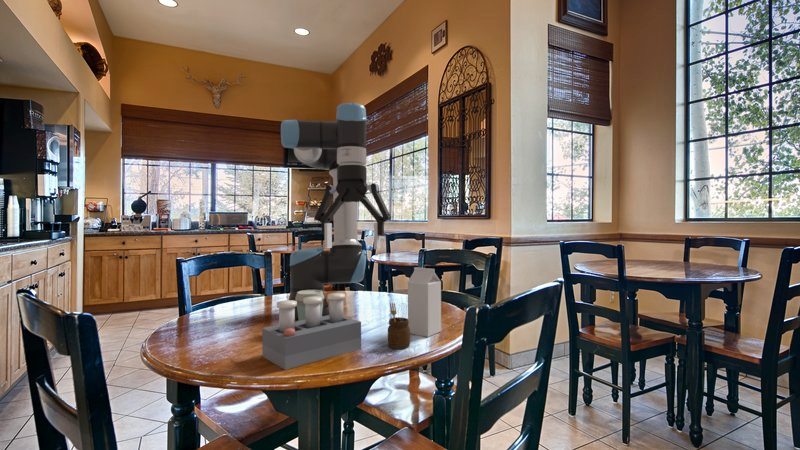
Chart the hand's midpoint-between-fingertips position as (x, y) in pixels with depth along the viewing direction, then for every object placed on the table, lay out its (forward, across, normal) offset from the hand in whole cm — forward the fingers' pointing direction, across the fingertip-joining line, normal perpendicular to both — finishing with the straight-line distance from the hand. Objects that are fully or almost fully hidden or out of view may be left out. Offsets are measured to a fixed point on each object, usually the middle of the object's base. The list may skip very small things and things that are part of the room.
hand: (352, 248), depth 103 cm
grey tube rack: (+26, -8, -5) cm, 28 cm away
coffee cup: (+26, -18, +11) cm, 34 cm away
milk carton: (+26, +14, +19) cm, 36 cm away
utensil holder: (+26, +11, +5) cm, 29 cm away
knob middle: (+19, -8, -5) cm, 22 cm away
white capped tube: (+19, -12, -11) cm, 26 cm away
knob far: (+19, -5, +1) cm, 20 cm away
